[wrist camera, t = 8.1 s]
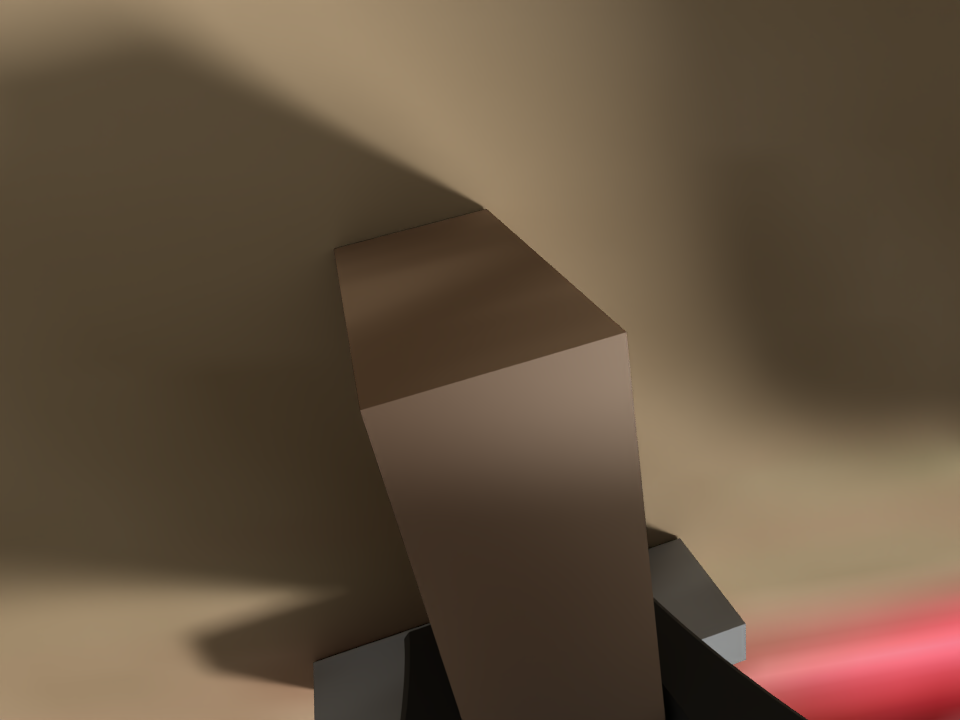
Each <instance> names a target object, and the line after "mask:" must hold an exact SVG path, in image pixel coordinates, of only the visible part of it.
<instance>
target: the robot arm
mask: <svg viewBox="0 0 960 720" xmlns="http://www.w3.org/2000/svg"><path fill="white" fill-rule="evenodd" d="M653 601H654V611H655V621H656V631H657V641H658V651H659V661H660V671H661V681H662V691H663V701H664V711H665V720H808V719H806V718H805V717H803V716H802V715H800V714H799V713H797V712H796V711H794V710H793V709H791V708H790V707H789V706H787V705H786V704H784V703H783V702H782V701H780V700H779V699H777V698H776V697H775V696H773V695H772V694H770V693H769V692H768V691H766V690H765V689H764V688H762V687H761V686H760V685H758V684H757V683H756V682H754V681H753V680H752V679H750V678H749V677H748V676H746V675H745V674H744V673H742V672H741V671H740V670H738V669H737V668H736V667H735V666H733V665H732V664H731V663H730V662H728V661H727V660H726V659H724V658H723V657H722V656H721V655H720V654H718V653H717V652H716V651H715V650H714V649H712V648H711V647H710V646H709V645H707V644H706V643H705V642H704V641H703V640H701V639H700V638H699V637H698V636H697V635H695V634H694V633H693V632H692V631H691V630H689V629H688V628H687V627H686V626H685V625H684V624H683V623H681V622H680V621H679V620H678V619H677V618H676V617H675V616H673V615H672V614H671V613H670V612H669V611H668V610H667V609H666V608H665V607H663V606H662V605H661V604H660V603H659V602H658V601H657V600H656V599H655V598H654V597H653ZM404 648H405V666H404V687H403V698H402V709H401V719H400V720H462V718H461V715H460V712H459V709H458V706H457V703H456V700H455V697H454V694H453V691H452V688H451V685H450V682H449V679H448V676H447V673H446V670H445V667H444V664H443V661H442V658H441V655H440V651H439V648H438V645H437V642H436V639H435V636H434V633H433V630H432V627H431V625H428V626H425V627H422V628H419V629H416V630H413V631H410V632H409V633H408V634H407V635H406V637H405V638H404Z"/></svg>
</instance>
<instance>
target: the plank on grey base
mask: <svg viewBox="0 0 960 720" xmlns="http://www.w3.org/2000/svg"><path fill="white" fill-rule="evenodd" d="M334 253H335V259H336V265H337V272H338V278H339V284H340V290H341V296H342V302H343V309H344V315H345V321H346V327H347V333H348V339H349V345H350V352H351V358H352V364H353V370H354V376H355V382H356V389H357V395H358V401H359V407H360V412H361V415H362V418H363V421H364V424H365V427H366V430H367V433H368V436H369V439H370V442H371V445H372V448H373V451H374V454H375V457H376V460H377V463H378V466H379V469H380V473H381V476H382V479H383V482H384V485H385V488H386V491H387V494H388V497H389V500H390V503H391V506H392V509H393V512H394V515H395V518H396V521H397V524H398V527H399V530H400V533H401V536H402V539H403V542H404V545H405V548H406V551H407V554H408V557H409V560H410V564H411V567H412V570H413V573H414V576H415V579H416V582H417V585H418V588H419V591H420V594H421V597H422V600H423V603H424V606H425V609H426V612H427V615H428V618H429V621H430V623H429V624H426V625H423V626H420V627H417V628H414V629H411V630H408V631H405V632H402V633H399V634H396V635H394V636H391V637H388V638H385V639H382V640H379V641H376V642H373V643H370V644H367V645H364V646H361V647H358V648H355V649H352V650H349V651H346V652H343V653H340V654H338V655H335V656H332V657H329V658H326V659H323V660H320V661H317V662H314V663H313V667H314V716H315V720H400V719H401V709H402V698H403V687H404V666H405V648H404V638H405V637H406V635H407V634H408V633H409V632H410V631H413V630H416V629H419V628H422V627H425V626H428V625H431V627H432V630H433V633H434V636H435V639H436V642H437V645H438V648H439V651H440V655H441V658H442V661H443V664H444V667H445V670H446V673H447V676H448V679H449V682H450V685H451V688H452V691H453V694H454V697H455V700H456V703H457V706H458V709H459V712H460V715H461V718H462V720H665V711H664V701H663V691H662V681H661V671H660V661H659V651H658V641H657V631H656V621H655V611H654V601H653V597H654V598H655V599H656V600H657V601H658V602H659V603H660V604H661V605H662V606H663V607H665V608H666V609H667V610H668V611H669V612H670V613H671V614H672V615H673V616H675V617H676V618H677V619H678V620H679V621H680V622H681V623H683V624H684V625H685V626H686V627H687V628H688V629H689V630H691V631H692V632H693V633H694V634H695V635H697V636H698V637H699V638H700V639H701V640H703V641H704V642H705V643H706V644H707V645H709V646H710V647H711V648H712V649H714V650H715V651H716V652H717V653H718V654H720V655H721V656H722V657H723V658H724V659H726V660H727V661H728V662H730V663H731V664H732V665H733V664H735V663H738V662H741V661H744V660H746V624H745V622H744V621H743V620H742V618H741V617H740V616H739V614H738V613H737V612H736V611H735V609H734V608H733V607H732V605H731V604H730V603H729V601H728V600H727V599H726V598H725V596H724V595H723V594H722V592H721V591H720V590H719V588H718V587H717V586H716V585H715V583H714V582H713V581H712V579H711V578H710V577H709V575H708V574H707V573H706V572H705V570H704V569H703V568H702V566H701V565H700V564H699V562H698V561H697V560H696V559H695V557H694V556H693V555H692V553H691V552H690V551H689V549H688V548H687V547H686V546H685V544H684V543H683V542H682V540H681V539H680V538H679V539H676V540H673V541H670V542H668V543H665V544H662V545H659V546H656V547H653V548H650V549H648V541H647V531H646V521H645V511H644V501H643V491H642V481H641V471H640V461H639V451H638V441H637V431H636V421H635V411H634V401H633V391H632V381H631V371H630V362H629V352H628V342H627V332H626V331H625V330H623V329H622V328H621V327H620V326H619V325H618V324H617V323H615V322H614V321H613V320H612V319H611V318H610V317H609V316H608V315H606V314H605V313H604V312H603V311H602V310H601V309H600V308H598V307H597V306H596V305H595V304H594V303H593V302H592V301H591V300H589V299H588V298H587V297H586V296H585V295H584V294H583V293H581V292H580V291H579V290H578V289H577V288H576V287H575V286H574V285H572V284H571V283H570V282H569V281H568V280H567V279H566V278H564V277H563V276H562V275H561V274H560V273H559V272H558V271H557V270H555V269H554V268H553V267H552V266H551V265H550V264H549V263H547V262H546V261H545V260H544V259H543V258H542V257H541V256H539V255H538V254H537V253H536V252H535V251H534V250H533V249H532V248H530V247H529V246H528V245H527V244H526V243H525V242H524V241H522V240H521V239H520V238H519V237H518V236H517V235H516V234H515V233H513V232H512V231H511V230H510V229H509V228H508V227H507V226H505V225H504V224H503V223H502V222H501V221H500V220H499V219H498V218H496V217H495V216H494V215H493V214H492V213H491V212H490V211H488V210H487V209H485V210H481V211H477V212H473V213H469V214H465V215H462V216H458V217H454V218H450V219H446V220H442V221H439V222H435V223H431V224H427V225H423V226H419V227H416V228H412V229H408V230H404V231H400V232H396V233H393V234H389V235H385V236H381V237H377V238H373V239H370V240H366V241H362V242H358V243H354V244H350V245H347V246H343V247H339V248H335V249H334Z"/></svg>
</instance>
